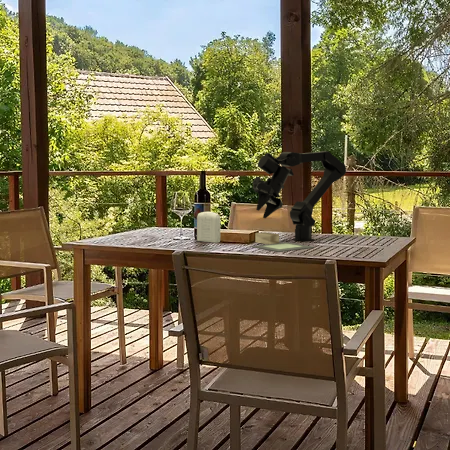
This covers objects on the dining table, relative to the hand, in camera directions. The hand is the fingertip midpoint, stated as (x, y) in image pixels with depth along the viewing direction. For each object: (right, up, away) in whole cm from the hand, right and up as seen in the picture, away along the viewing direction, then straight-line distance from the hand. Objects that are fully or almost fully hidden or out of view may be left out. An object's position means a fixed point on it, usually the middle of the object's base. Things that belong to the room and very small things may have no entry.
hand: (260, 214), depth 278 cm
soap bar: (-21, -11, +8) cm, 25 cm away
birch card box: (+3, -12, +4) cm, 13 cm away
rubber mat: (+8, -13, -9) cm, 18 cm away
